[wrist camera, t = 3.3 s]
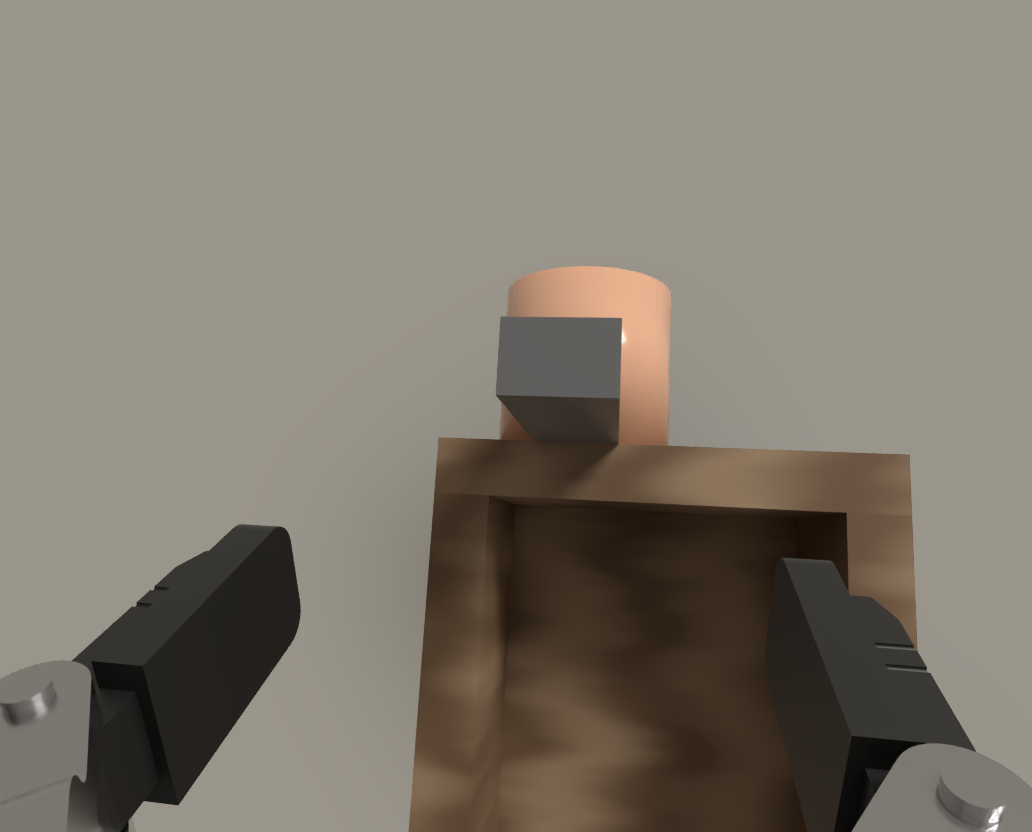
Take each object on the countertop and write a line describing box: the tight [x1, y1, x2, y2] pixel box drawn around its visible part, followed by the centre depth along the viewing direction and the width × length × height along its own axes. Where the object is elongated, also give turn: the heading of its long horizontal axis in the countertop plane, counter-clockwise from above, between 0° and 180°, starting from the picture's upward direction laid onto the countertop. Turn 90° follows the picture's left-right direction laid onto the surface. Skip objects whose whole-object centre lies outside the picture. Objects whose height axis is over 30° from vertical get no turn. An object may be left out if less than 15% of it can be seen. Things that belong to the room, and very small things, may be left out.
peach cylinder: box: [496, 266, 671, 446], centre depth 25 cm, size 7×16×7 cm, turn 172°
